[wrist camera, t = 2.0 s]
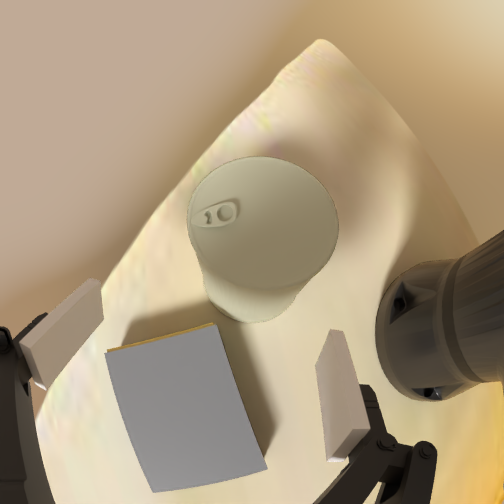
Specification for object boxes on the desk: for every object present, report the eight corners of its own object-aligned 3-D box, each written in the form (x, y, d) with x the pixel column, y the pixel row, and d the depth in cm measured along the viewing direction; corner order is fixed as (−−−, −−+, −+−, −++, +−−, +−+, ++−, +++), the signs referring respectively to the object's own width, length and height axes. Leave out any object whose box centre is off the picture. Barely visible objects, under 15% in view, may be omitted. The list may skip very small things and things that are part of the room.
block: (217, 325, 25) (215, 320, 23) (263, 458, 21) (267, 469, 18) (116, 352, 24) (103, 349, 21) (160, 481, 19) (152, 492, 16)
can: (199, 236, 29) (182, 156, 18) (289, 226, 30) (320, 148, 19) (208, 328, 25) (189, 298, 14) (307, 315, 26) (360, 276, 15)
